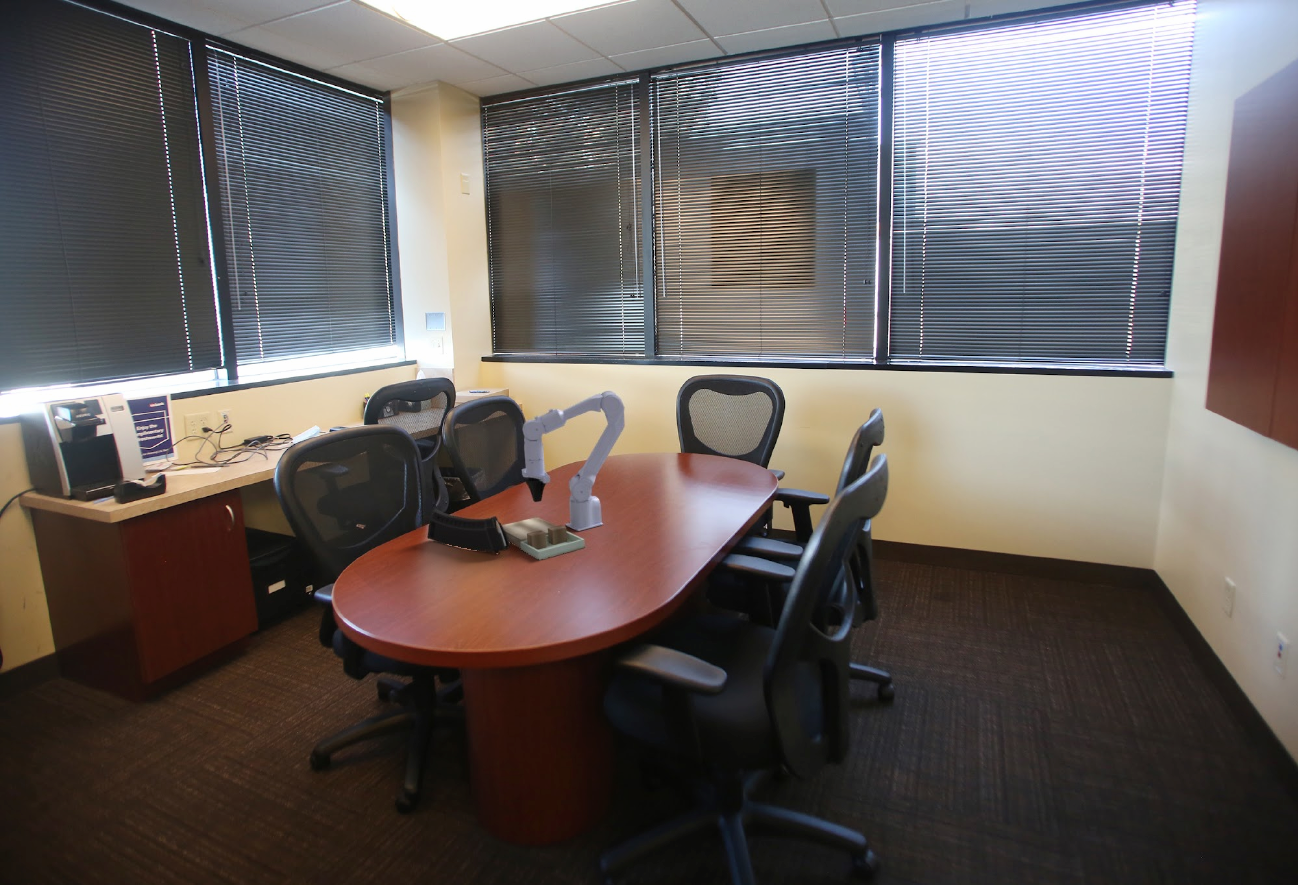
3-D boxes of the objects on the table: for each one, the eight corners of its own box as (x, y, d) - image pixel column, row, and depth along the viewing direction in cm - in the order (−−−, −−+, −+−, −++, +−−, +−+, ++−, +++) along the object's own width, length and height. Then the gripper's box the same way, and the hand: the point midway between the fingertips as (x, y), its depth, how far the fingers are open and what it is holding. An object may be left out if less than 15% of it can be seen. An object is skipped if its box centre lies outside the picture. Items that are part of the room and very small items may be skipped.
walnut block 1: (540, 530, 207) (545, 532, 205) (541, 544, 208) (546, 547, 206) (526, 533, 204) (531, 536, 202) (527, 548, 205) (532, 551, 203)
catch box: (565, 538, 214) (565, 530, 214) (585, 547, 206) (584, 539, 205) (520, 550, 206) (520, 541, 205) (539, 560, 197) (538, 551, 196)
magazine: (418, 513, 215) (487, 495, 199) (427, 510, 218) (495, 492, 201) (435, 566, 216) (505, 554, 199) (443, 563, 218) (512, 550, 202)
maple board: (537, 526, 227) (537, 517, 226) (563, 538, 214) (562, 528, 214) (497, 535, 219) (496, 526, 218) (521, 549, 206) (520, 539, 206)
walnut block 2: (561, 524, 211) (566, 527, 209) (561, 539, 212) (567, 541, 210) (547, 528, 209) (552, 530, 206) (548, 542, 210) (553, 545, 207)
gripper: (512, 457, 222) (515, 499, 224) (534, 464, 210) (537, 508, 213) (532, 453, 226) (535, 494, 229) (555, 460, 214) (557, 504, 217)
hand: (537, 501), depth 221 cm, fingers closed
